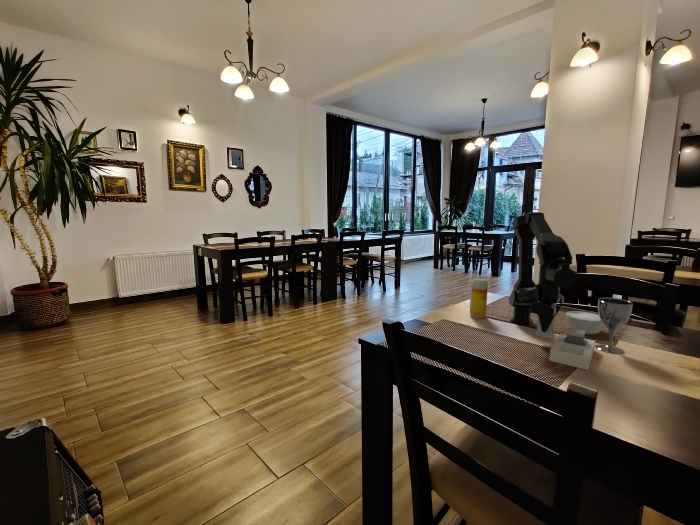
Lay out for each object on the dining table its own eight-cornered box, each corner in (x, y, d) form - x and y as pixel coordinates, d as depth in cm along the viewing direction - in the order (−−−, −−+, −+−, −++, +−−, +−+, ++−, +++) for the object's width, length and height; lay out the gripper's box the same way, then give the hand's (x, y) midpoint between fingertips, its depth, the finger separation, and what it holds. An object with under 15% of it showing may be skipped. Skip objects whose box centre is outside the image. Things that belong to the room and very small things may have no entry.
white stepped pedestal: (559, 343, 106) (560, 324, 105) (594, 350, 100) (596, 330, 99) (549, 360, 94) (551, 339, 93) (588, 370, 88) (590, 348, 87)
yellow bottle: (487, 319, 129) (489, 281, 127) (470, 318, 131) (472, 280, 128) (484, 314, 135) (486, 278, 133) (468, 313, 136) (470, 277, 134)
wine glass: (619, 345, 103) (625, 298, 101) (631, 356, 96) (638, 305, 93) (589, 342, 106) (594, 296, 103) (598, 352, 98) (604, 303, 96)
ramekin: (579, 323, 124) (581, 309, 123) (611, 333, 114) (613, 318, 113) (557, 326, 121) (558, 312, 120) (587, 337, 110) (588, 322, 109)
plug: (539, 331, 107) (540, 313, 106) (553, 334, 105) (555, 315, 104) (536, 335, 104) (537, 316, 103) (551, 338, 102) (552, 319, 101)
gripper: (527, 273, 114) (524, 317, 116) (512, 282, 100) (509, 332, 102) (566, 277, 107) (561, 324, 109) (555, 288, 93) (551, 341, 95)
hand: (545, 329), depth 104 cm, fingers closed on plug, 4 cm apart
